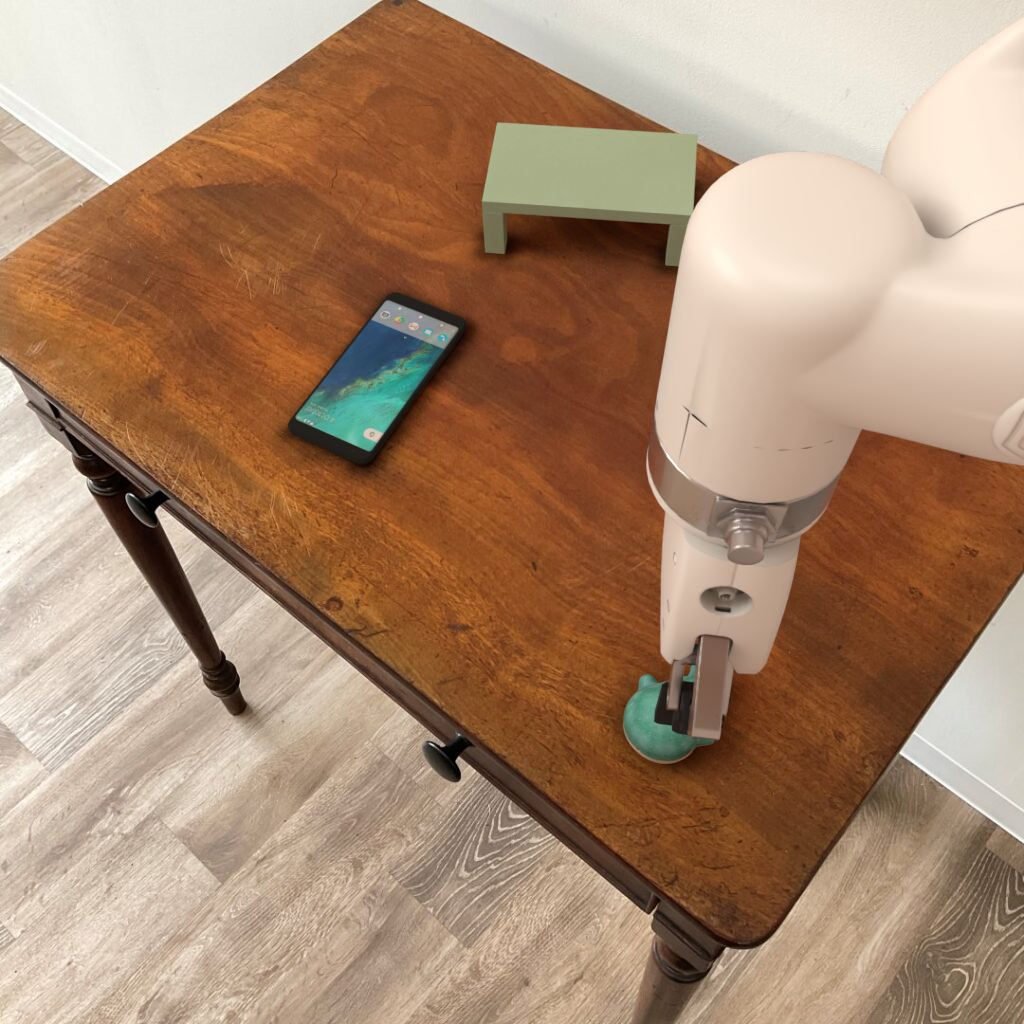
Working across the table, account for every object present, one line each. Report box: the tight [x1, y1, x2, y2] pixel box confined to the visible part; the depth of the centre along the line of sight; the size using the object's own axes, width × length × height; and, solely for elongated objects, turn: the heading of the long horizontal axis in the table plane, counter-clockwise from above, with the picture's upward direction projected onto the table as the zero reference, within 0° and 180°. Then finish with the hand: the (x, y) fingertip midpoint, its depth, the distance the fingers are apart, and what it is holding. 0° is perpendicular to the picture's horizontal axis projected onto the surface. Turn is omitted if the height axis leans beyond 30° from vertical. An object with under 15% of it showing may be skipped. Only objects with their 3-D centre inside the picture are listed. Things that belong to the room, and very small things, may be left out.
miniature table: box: [481, 122, 699, 268], centre depth 88 cm, size 16×9×6 cm, turn 83°
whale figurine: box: [622, 665, 716, 765], centre depth 66 cm, size 6×7×4 cm
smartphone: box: [287, 291, 468, 465], centre depth 82 cm, size 7×1×15 cm
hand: (689, 634), depth 58 cm, fingers open, 9 cm apart
